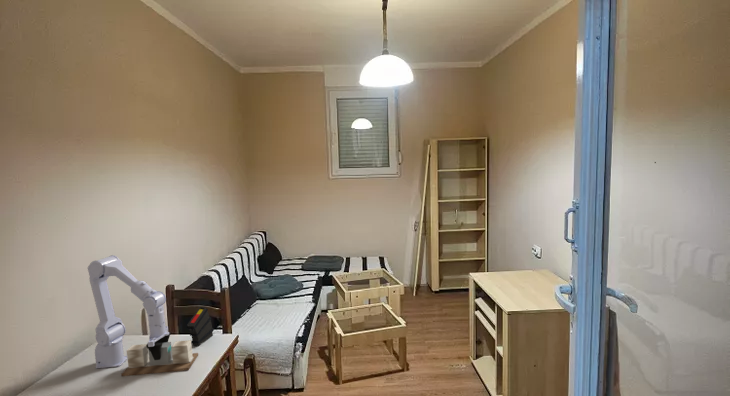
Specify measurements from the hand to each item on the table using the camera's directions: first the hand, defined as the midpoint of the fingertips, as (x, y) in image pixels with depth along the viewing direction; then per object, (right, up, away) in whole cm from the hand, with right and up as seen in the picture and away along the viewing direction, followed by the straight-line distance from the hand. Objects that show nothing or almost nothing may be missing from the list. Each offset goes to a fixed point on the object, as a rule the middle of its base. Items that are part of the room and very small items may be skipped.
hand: (160, 355), depth 163 cm
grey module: (0, -3, 0) cm, 3 cm away
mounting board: (0, -4, 0) cm, 4 cm away
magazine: (+8, -2, +20) cm, 22 cm away
